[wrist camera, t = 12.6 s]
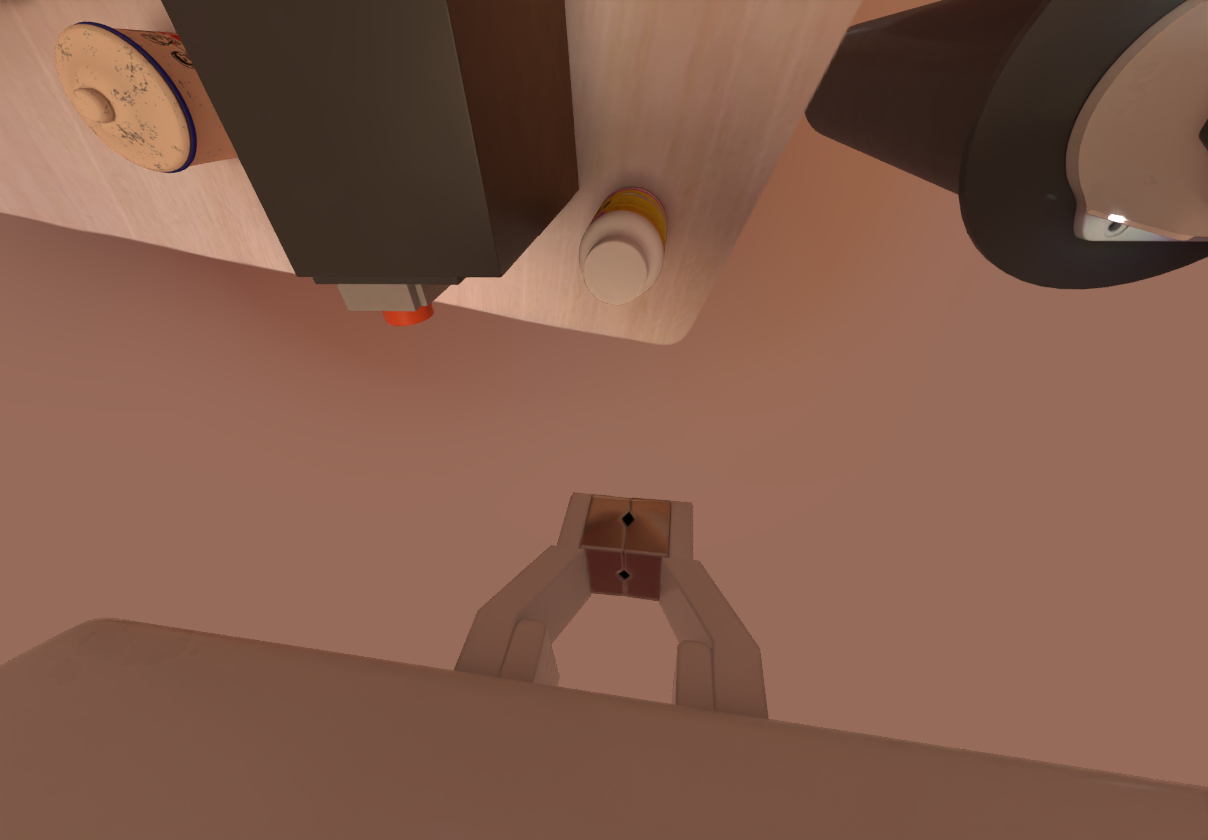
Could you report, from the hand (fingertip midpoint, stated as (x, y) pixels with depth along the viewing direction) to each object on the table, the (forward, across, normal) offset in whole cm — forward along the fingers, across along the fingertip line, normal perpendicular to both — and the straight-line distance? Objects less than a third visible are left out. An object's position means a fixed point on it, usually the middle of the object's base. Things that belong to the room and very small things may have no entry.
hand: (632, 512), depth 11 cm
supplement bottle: (+36, -4, -2) cm, 37 cm away
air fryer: (+36, -15, +6) cm, 39 cm away
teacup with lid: (+36, -42, +10) cm, 56 cm away
